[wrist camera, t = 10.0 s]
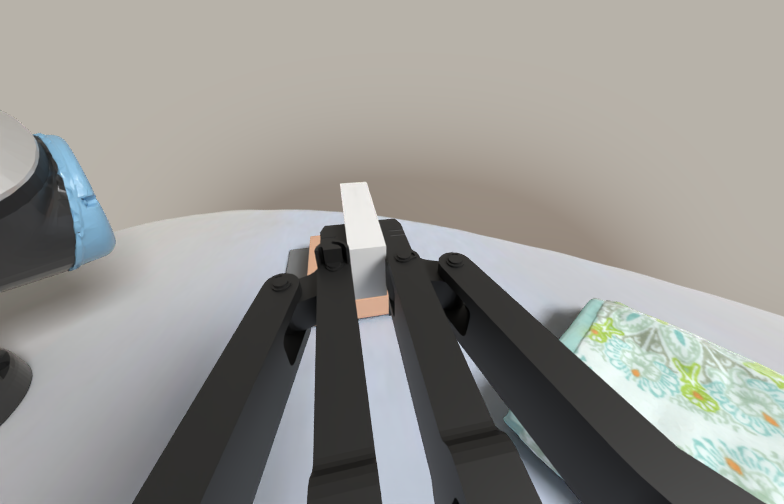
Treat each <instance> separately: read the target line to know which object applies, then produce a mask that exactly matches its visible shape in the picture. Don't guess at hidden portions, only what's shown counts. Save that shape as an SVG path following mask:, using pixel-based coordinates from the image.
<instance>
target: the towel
mask: <svg viewBox="0 0 784 504" xmlns="http://www.w3.org/2000/svg"><path fill="white" fill-rule="evenodd" d="M559 340H560V341H561V342H562V343H563V344H564V345H565V346H566V347H567V348H569V349H570V350H571V351H572V352H573V353H574V354H575V355H576V356H577V357H578V358H580V359H581V360H582V361H583V362H584V363H585V364H586V365H587V366H588V367H590V368H591V369H592V370H593V371H594V372H595V373H596V374H597V375H598V376H600V377H601V378H602V379H603V380H604V381H605V382H606V383H607V384H608V385H609V386H611V387H612V388H613V389H614V390H615V391H616V392H617V393H618V394H619V395H621V396H622V397H623V398H624V399H625V400H626V401H627V402H628V403H629V404H630V405H632V406H633V407H634V408H635V409H636V410H637V411H638V412H639V413H640V414H642V415H643V416H644V417H645V418H646V419H647V420H648V421H649V422H650V423H652V424H653V425H654V426H655V427H656V428H657V429H658V430H659V431H660V432H661V433H663V434H664V435H665V436H666V437H667V438H668V439H669V440H670V441H671V442H673V443H674V444H675V445H676V446H677V447H678V448H680V449H681V450H683V451H684V452H686V453H687V454H689V455H691V456H692V457H694V458H695V459H697V460H698V461H700V462H702V463H703V464H705V465H706V466H708V467H709V468H711V469H713V470H714V471H716V472H717V473H719V474H720V475H722V476H724V477H725V478H727V479H728V480H730V481H731V482H733V483H734V484H736V485H738V486H739V487H741V488H742V489H744V490H745V491H747V492H749V493H750V494H752V495H753V496H755V497H756V498H758V499H760V500H761V501H763V502H764V503H766V504H784V375H782V374H780V373H777V372H775V371H773V370H771V369H769V368H767V367H764V366H762V365H761V364H758V363H756V362H754V361H752V360H750V359H747V358H745V357H743V356H740V355H738V354H736V353H734V352H731V351H729V350H727V349H725V348H722V347H720V346H718V345H716V344H714V343H712V342H710V341H707V340H705V339H703V338H701V337H699V336H697V335H694V334H692V333H690V332H688V331H685V330H683V329H681V328H678V327H676V326H674V325H671V324H669V323H666V322H664V321H661V320H659V319H656V318H654V317H651V316H649V315H646V314H643V313H641V312H638V311H636V310H634V309H631V308H629V307H628V306H626V305H624V304H622V303H619V302H615V301H608V300H606V301H603V300H601V299H597V298H593V299H591V300H590V301H589V302H588V303H587V304H586V305H585V307H584V308H583V309H582V311H581V312H580V313H579V315H578V316H577V318H576V319H575V320H574V321H573V323H572V324H571V326H570V327H569V328H568V329H567V330H566V332H565V333H564V334H563V335H562V336H561V337H560V339H559ZM504 422H505V423H506V424H507V425H508V426H509V427H510V428H511V429H512V430H513V431H514V432H515V433H516V434H518V436H519V437H520V439H521V440H522V441H523V442H524V443H525V444H526V445H527V446H528V447H529V448H530V449H531V450H532V451H533V452H534V453H535V454H536V455H537V456H538V457H539V458H540V459H541V460H542V461H543V462H544V463H545V464H546V465H547V466H548V467H550V468H551V469H552V470H553V471H554V472H555V473H556V474H557V475H558V476H559V477H560V478H562V477H561V476H560V474H559V473H558V472H557V471H556V469H555V468H554V467H553V465H552V464H551V463H550V461H549V460H548V459H547V457H546V456H545V455H544V454H543V452H542V451H541V450H540V448H539V447H538V446H537V444H536V443H535V442H534V440H533V439H532V438H531V436H530V435H529V434H528V433H527V431H526V430H525V429H524V427H523V426H522V425H521V423H520V422H519V421H518V419H517V418H516V417H515V415H514V414H513V413H512V412H511V410H510V409H509V412H508V414H507V415H506V416H505V417H504ZM562 479H563V478H562Z"/></svg>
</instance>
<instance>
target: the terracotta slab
mask: <svg viewBox="0 0 784 504" xmlns="http://www.w3.org/2000/svg"><path fill="white" fill-rule="evenodd" d="M319 244H320V236H311V237H310V248H309V260H308V273H307V275H310V274H311V273H313V272H314V271H316V270H317V263H316V258H315V253H314V250H315V248H316V246H318V245H319ZM356 308H357V316H358V319H360V318H366V317H372V316H378V315H384V314H389V295H388V291H387V295H385V296H378V297H371V298H364V299H357V300H356ZM315 326H316V325H315Z"/></svg>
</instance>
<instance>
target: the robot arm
mask: <svg viewBox="0 0 784 504" xmlns="http://www.w3.org/2000/svg"><path fill="white" fill-rule="evenodd" d="M340 187H341V196H342V204H343V213H344V222H345V224H341V225H331V226H324V228H323V229H322V231H321V232H320V244H319V245H318V246H316V248H315V250H314V253H315V258H316V263H317V270H316V271H314V272H313V273H311V274H310V275H307V276H305V277H302V278H299V279H298V277H297V276H296V275H294V274H290V273H282V274H278V275H275V276H273V277H271V278H269V279H268V280H267V281H266V282H265V283H264V284H263V286H262V288H261V289H260V291H259V293H258V294H257V296H256V298H255V299H254V301H253V303H252V304H251V306H250V308H249V309H248V311H247V313H246V314H245V316H244V318H243V319H242V321H241V323H240V324H239V326H238V328H237V329H236V331H235V333H234V334H233V336H232V338H231V339H230V341H229V343H228V344H227V346H226V348H225V349H224V351H223V353H222V354H221V356H220V358H219V359H218V361H217V363H216V364H215V366H214V368H213V369H212V371H211V373H210V374H209V376H208V378H207V379H206V381H205V383H204V384H203V386H202V388H201V389H200V391H199V393H198V394H197V396H196V398H195V400H194V401H193V403H192V405H191V406H190V408H189V410H188V411H187V413H186V415H185V416H184V418H183V420H182V421H181V423H180V425H179V426H178V428H177V430H176V431H175V433H174V435H173V436H172V438H171V440H170V441H169V443H168V445H167V446H166V448H165V450H164V451H163V453H162V455H161V456H160V458H159V460H158V461H157V463H156V465H155V466H154V468H153V470H152V471H151V473H150V475H149V476H148V478H147V480H146V481H145V483H144V485H143V486H142V488H141V490H140V491H139V493H138V495H137V496H136V498H135V500H134V501H133V503H132V504H253V501H254V498H255V495H256V492H257V489H258V486H259V483H260V480H261V477H262V474H263V471H264V468H265V465H266V462H267V459H268V456H269V453H270V450H271V447H272V444H273V441H274V438H275V435H276V432H277V430H278V427H279V424H280V421H281V418H282V415H283V412H284V409H285V406H286V403H287V400H288V397H289V394H290V391H291V388H292V385H293V382H294V379H295V376H296V373H297V370H298V367H299V364H300V361H301V358H302V356H303V353H304V350H305V347H306V344H307V341H308V338H309V335H310V332H311V327H313V326H315V325H316V358H315V404H314V449H313V469H312V473H311V476H310V478H309V484H308V495H307V504H382V499H381V491H380V483H379V476H378V469H377V462H376V455H375V448H374V440H373V432H372V425H371V417H370V409H369V401H368V394H367V386H366V378H365V370H364V362H363V355H362V347H361V339H360V331H359V324H358V316H357V308H356V300H357V299H364V298H371V297H378V296H385V295H387V291H388V295H389V316H392V320H393V324H394V328H395V332H396V336H397V340H398V344H399V348H400V352H401V356H402V360H403V364H404V369H405V373H406V377H407V381H408V385H409V389H410V393H411V397H412V401H413V405H414V409H415V413H416V417H417V421H418V425H419V430H420V434H421V438H422V442H423V446H424V450H425V454H426V458H427V462H428V466H429V470H430V475H431V479H432V487H433V496H434V502H435V504H542V502H541V500H540V498H539V496H538V494H537V492H536V489H535V487H534V485H533V483H532V481H531V479H530V477H529V475H528V472H527V470H526V468H525V466H524V464H523V462H522V460H521V458H520V456H519V453H518V451H517V449H516V448H515V446H514V444H513V442H512V440H511V439H510V438H509V437H508V436H507V434H506V433H504V432H502V431H500V430H498V428H497V427H496V426H495V424H494V422H493V420H492V418H491V416H490V414H489V411H488V409H487V407H486V405H485V402H484V400H483V398H482V396H481V393H480V391H479V389H478V387H477V384H476V382H475V380H474V378H473V376H472V373H471V371H470V369H469V367H468V364H467V362H466V360H465V358H464V355H463V353H462V351H461V349H460V346H459V344H458V342H459V343H460V345H461V346H462V347H463V349H464V350H465V351H466V353H467V354H468V355H469V356H470V358H471V359H472V360H473V362H474V363H475V364H476V366H477V367H478V368H479V370H480V371H481V372H482V374H483V375H484V376H485V377H486V379H487V380H488V381H489V383H490V384H491V385H492V387H493V388H494V389H495V391H496V392H497V393H498V394H499V396H500V397H501V398H502V400H503V401H504V402H505V404H506V405H507V406H508V408H509V409H510V410H511V412H512V413H513V414H514V415H515V417H516V418H517V419H518V421H519V422H520V423H521V425H522V426H523V427H524V429H525V430H526V431H527V433H528V434H529V435H530V436H531V438H532V439H533V440H534V442H535V443H536V444H537V446H538V447H539V448H540V450H541V451H542V452H543V454H544V455H545V456H546V457H547V459H548V460H549V461H550V463H551V464H552V465H553V467H554V468H555V469H556V471H557V472H558V473H559V474H560V476H561V477H562V478H563V480H564V481H565V482H566V484H567V485H568V486H569V488H570V489H571V490H572V491H573V493H574V494H575V495H576V496H577V497H578V499H579V500H580V501H581V502H582V504H766V503H764V502H763V501H761V500H760V499H758V498H756V497H755V496H753V495H752V494H750V493H749V492H747V491H745V490H744V489H742V488H741V487H739V486H738V485H736V484H734V483H733V482H731V481H730V480H728V479H727V478H725V477H724V476H722V475H720V474H719V473H717V472H716V471H714V470H713V469H711V468H709V467H708V466H706V465H705V464H703V463H702V462H700V461H698V460H697V459H695V458H694V457H692V456H691V455H689V454H687V453H686V452H684V451H683V450H681V449H680V448H678V447H677V446H676V445H675V444H674V443H673V442H671V441H670V440H669V439H668V438H667V437H666V436H665V435H664V434H663V433H661V432H660V431H659V430H658V429H657V428H656V427H655V426H654V425H653V424H652V423H650V422H649V421H648V420H647V419H646V418H645V417H644V416H643V415H642V414H640V413H639V412H638V411H637V410H636V409H635V408H634V407H633V406H632V405H630V404H629V403H628V402H627V401H626V400H625V399H624V398H623V397H622V396H621V395H619V394H618V393H617V392H616V391H615V390H614V389H613V388H612V387H611V386H609V385H608V384H607V383H606V382H605V381H604V380H603V379H602V378H601V377H600V376H598V375H597V374H596V373H595V372H594V371H593V370H592V369H591V368H590V367H588V366H587V365H586V364H585V363H584V362H583V361H582V360H581V359H580V358H578V357H577V356H576V355H575V354H574V353H573V352H572V351H571V350H570V349H569V348H567V347H566V346H565V345H564V344H563V343H562V342H561V341H560V340H559V339H557V338H556V337H555V336H554V335H553V334H552V333H551V332H550V331H549V330H547V329H546V328H545V327H544V326H543V325H542V324H541V323H540V322H539V321H538V320H536V319H535V318H534V317H533V316H532V315H531V314H530V313H529V312H528V311H526V310H525V309H524V308H523V307H522V306H521V305H520V304H519V303H518V302H517V301H515V300H514V299H513V298H512V297H511V296H510V295H509V294H508V293H507V292H505V291H504V290H503V289H502V288H501V287H500V286H499V285H498V284H497V283H495V282H494V281H493V280H492V279H491V278H490V277H489V276H488V275H487V274H486V273H484V272H483V271H482V270H481V269H480V268H479V267H478V266H477V265H476V264H474V263H473V262H472V261H471V260H470V259H469V258H468V257H466V256H465V255H462V254H459V253H453V252H451V253H445V254H443V255H441V257H440V258H439V261H431V260H425V259H422V258H420V256H419V255H418V254H417V252H415V251H413V250H412V249H411V247H410V245H409V242H408V240H407V238H406V235H405V233H404V231H403V228H402V226H401V224H400V223H399V222H398V221H397V220H395V219H385V220H378V218H377V215H376V212H375V209H374V205H373V202H372V199H371V196H370V192H369V189H368V186H367V183H366V182H357V183H345V184H340ZM115 244H116V240H115V236H114V233H113V231H112V228H111V226H110V224H109V222H108V220H107V217H106V215H105V213H104V211H103V209H102V207H101V206H100V204H99V202H98V201H97V199H96V196H95V194H94V192H93V190H92V187H91V185H90V183H89V181H88V179H87V177H86V175H85V174H84V172H83V170H82V168H81V166H80V164H79V163H78V161H77V159H76V157H75V155H74V154H73V152H72V150H71V149H70V147H69V145H68V144H67V143H66V141H64V139H62V138H61V137H59V136H55V135H44V134H40V133H39V134H32V133H31V132H30V131H29V130H28V129H27V128H26V127H25V126H24V125H23V124H22V123H20V122H19V121H18V120H17V119H16V118H14V117H12V116H11V115H9V114H7V113H6V112H3V111H1V110H0V293H1V292H4V291H7V290H10V289H13V288H16V287H19V286H22V285H25V284H29V283H32V282H35V281H38V280H41V279H44V278H47V277H50V276H53V275H56V274H59V273H62V272H66V271H72V270H75V269H77V268H78V267H80V265H83V264H85V263H88V262H91V261H93V260H96V259H99V258H101V257H104V256H106V255H108V254H109V253H110V252H111V251H112V250H113V249H114V247H115ZM456 339H457V340H456ZM457 341H458V342H457ZM31 378H32V372H31V369H30V367H29V365H28V364H27V363H25V362H24V361H23V360H21V359H20V358H19V357H18V356H16V355H15V354H14V353H12V352H10V351H8V350H6V349H3V348H0V425H1V424H2V423H3V422H4V421H5V420H6V419H7V418H8V417H9V415H10V414H11V413H12V412H13V411H14V410H15V408H16V407H17V406H18V405H19V403H20V402H21V400H22V399H23V397H24V396H25V394H26V392H27V390H28V388H29V386H30V383H31Z"/></svg>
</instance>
